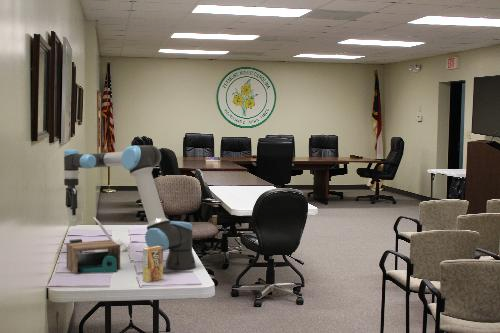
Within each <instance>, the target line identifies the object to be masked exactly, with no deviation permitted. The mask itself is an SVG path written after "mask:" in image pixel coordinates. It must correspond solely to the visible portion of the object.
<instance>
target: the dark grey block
mask: <svg viewBox="0 0 500 333" xmlns="http://www.w3.org/2000/svg"><path fill="white" fill-rule="evenodd" d="M78 242H83V239H82V238H76V239H74V238H73V239H69V241H68V243H78ZM108 254H109V251H103V252H94V251H92V252H85V251H78V268H79V267H80V266H94V265H102V262H103V259H104V257H105V256H106V255H108ZM108 263H109V261H108Z"/></svg>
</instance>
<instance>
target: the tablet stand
mask: <svg viewBox="0 0 500 333" xmlns="http://www.w3.org/2000/svg"><path fill="white" fill-rule="evenodd" d="M93 219H94V221H95V222H96V224H97V225H98V226H99V228H100V229H101V230H102V232H103V233H104V235H105V236H106V237H107V238H108V240H111V241H113V242H115V243H117V244H119V245H120V253H123V252H124V251H126V250H128V249H129V247H128V246H127V245H126V243H124V242H123V240H121V239H120V238H119V239H118V240H116V241H115V240H113V238H112V237H111V235H110V234H109V233H108V231H107V230H106V228H105V227H104V225H103V224H102V223H101V222H100V221H99V220H98V219H97V217H95V216H93ZM103 251H108V249H100V250H93V252H103Z"/></svg>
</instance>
